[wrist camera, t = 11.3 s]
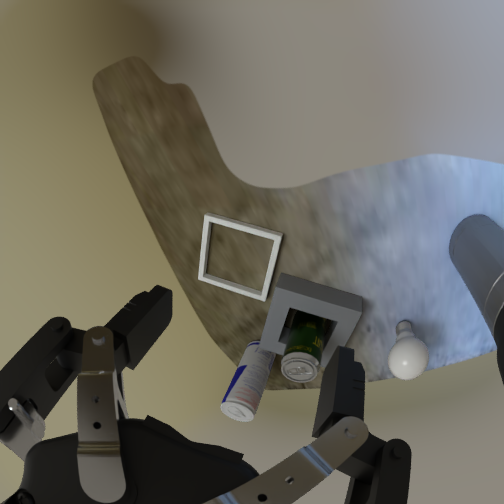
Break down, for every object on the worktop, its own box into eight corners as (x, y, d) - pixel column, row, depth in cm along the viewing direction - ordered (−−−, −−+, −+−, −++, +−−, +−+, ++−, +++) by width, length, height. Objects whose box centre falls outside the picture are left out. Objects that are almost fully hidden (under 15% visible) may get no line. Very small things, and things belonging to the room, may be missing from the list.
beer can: (300, 331, 48) (286, 385, 38) (290, 307, 46) (273, 360, 36) (330, 326, 46) (323, 381, 35) (321, 300, 44) (312, 355, 34)
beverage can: (248, 335, 52) (219, 399, 39) (278, 343, 50) (255, 409, 38) (246, 355, 54) (219, 416, 41) (274, 362, 53) (252, 425, 40)
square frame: (283, 233, 41) (281, 236, 40) (266, 297, 47) (265, 301, 46) (208, 212, 43) (204, 214, 42) (201, 275, 49) (198, 279, 48)
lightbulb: (427, 321, 40) (440, 369, 31) (402, 344, 43) (408, 393, 34) (403, 303, 40) (413, 352, 31) (377, 328, 43) (379, 378, 34)
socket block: (361, 296, 42) (362, 312, 38) (333, 352, 48) (331, 369, 45) (281, 272, 44) (275, 286, 40) (264, 332, 50) (258, 347, 47)
